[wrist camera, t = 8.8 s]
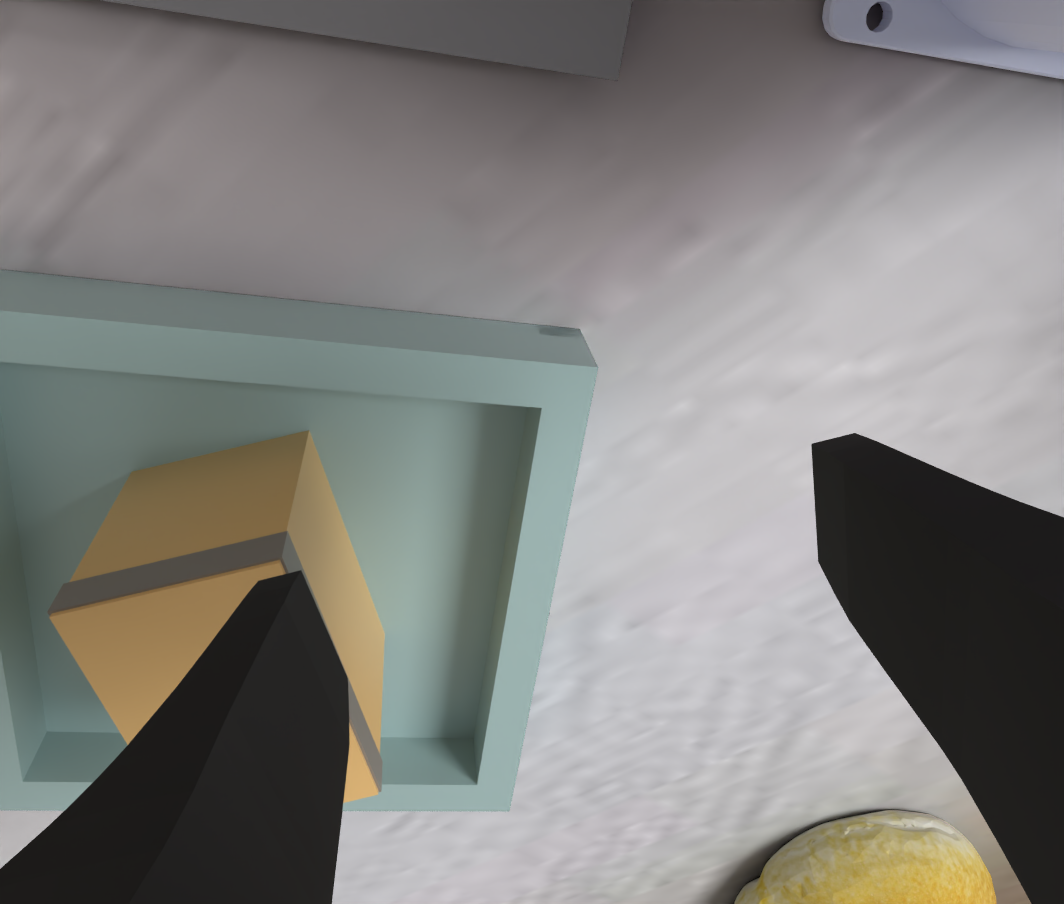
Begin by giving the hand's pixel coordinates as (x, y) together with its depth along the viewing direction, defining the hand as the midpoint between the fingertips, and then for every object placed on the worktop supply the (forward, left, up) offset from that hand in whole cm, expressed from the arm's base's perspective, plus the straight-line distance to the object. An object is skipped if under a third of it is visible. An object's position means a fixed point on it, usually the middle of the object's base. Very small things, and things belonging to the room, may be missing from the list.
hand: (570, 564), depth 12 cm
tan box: (+5, +6, -8) cm, 11 cm away
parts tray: (+5, +6, -8) cm, 11 cm away
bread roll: (-15, +19, -9) cm, 26 cm away
